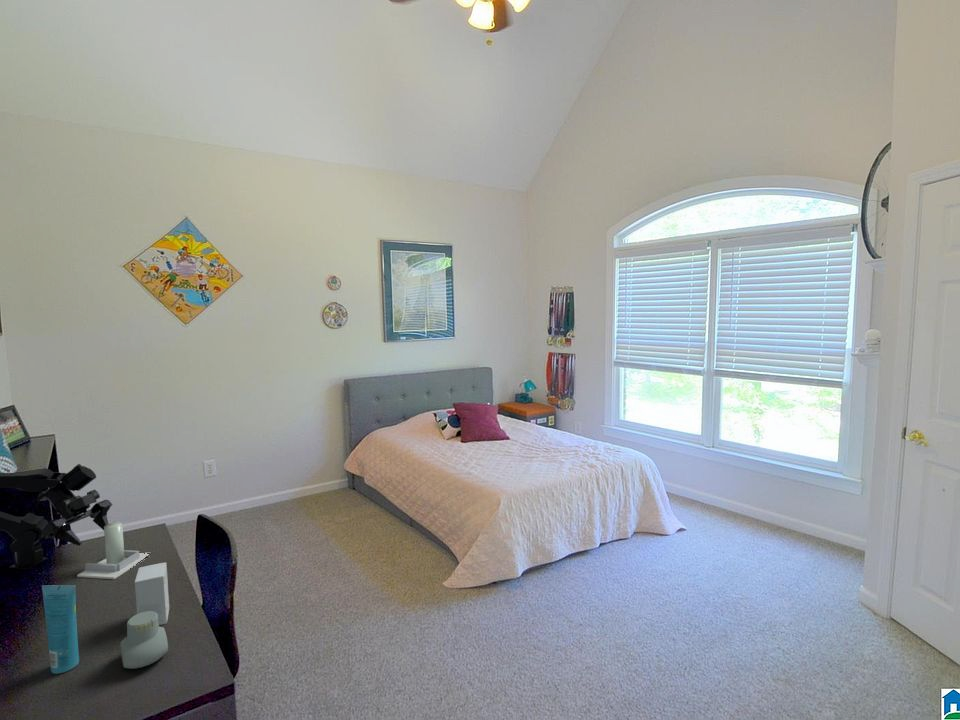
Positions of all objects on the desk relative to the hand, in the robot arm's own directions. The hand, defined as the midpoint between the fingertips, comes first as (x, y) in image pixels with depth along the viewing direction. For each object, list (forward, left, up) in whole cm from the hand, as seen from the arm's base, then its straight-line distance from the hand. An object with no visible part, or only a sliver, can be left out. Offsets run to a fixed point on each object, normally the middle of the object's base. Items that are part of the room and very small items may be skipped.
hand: (95, 537), depth 155 cm
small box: (+39, -25, -8) cm, 47 cm away
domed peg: (+7, -1, -8) cm, 11 cm away
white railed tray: (+7, -1, -8) cm, 11 cm away
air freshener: (+48, -39, -8) cm, 63 cm away
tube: (+32, -43, -8) cm, 54 cm away
